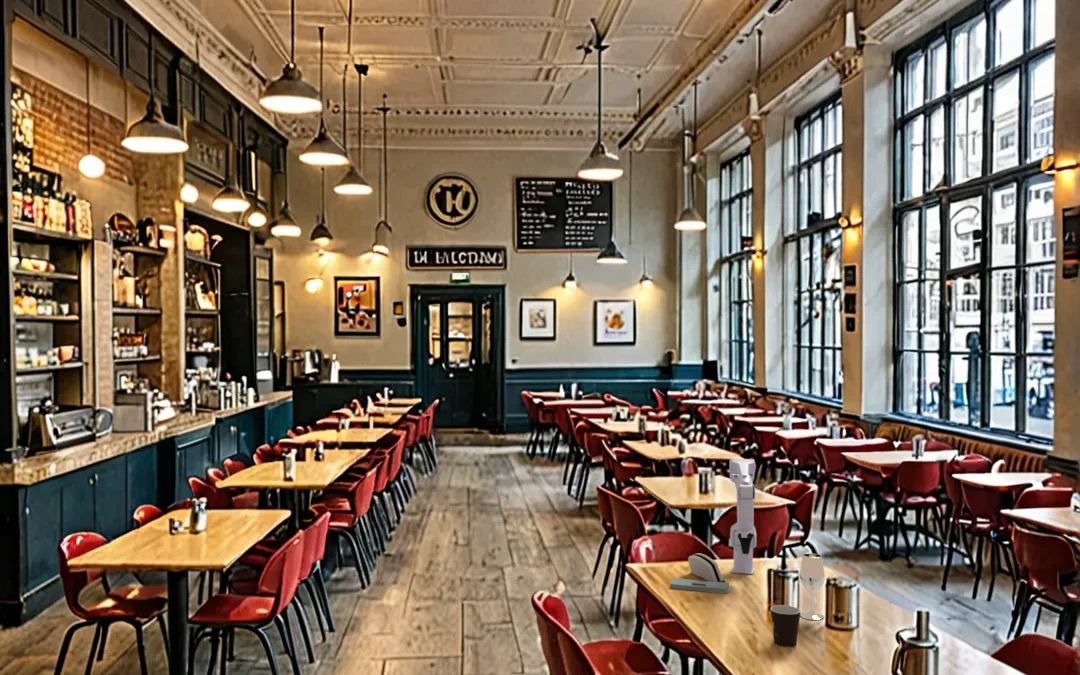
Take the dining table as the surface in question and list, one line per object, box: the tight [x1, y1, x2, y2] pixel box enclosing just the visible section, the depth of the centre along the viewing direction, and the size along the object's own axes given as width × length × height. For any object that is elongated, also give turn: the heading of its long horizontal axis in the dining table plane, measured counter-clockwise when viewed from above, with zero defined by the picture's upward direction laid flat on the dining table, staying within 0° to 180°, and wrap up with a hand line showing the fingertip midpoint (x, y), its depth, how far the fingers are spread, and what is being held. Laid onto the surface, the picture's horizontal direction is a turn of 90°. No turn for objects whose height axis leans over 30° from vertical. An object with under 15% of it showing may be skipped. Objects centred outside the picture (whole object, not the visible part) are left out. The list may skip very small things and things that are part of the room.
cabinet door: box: [670, 577, 730, 594], centre depth 315 cm, size 8×20×2 cm, turn 72°
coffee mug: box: [770, 604, 802, 648], centre depth 260 cm, size 12×9×10 cm
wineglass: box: [799, 552, 826, 621], centre depth 283 cm, size 8×8×20 cm
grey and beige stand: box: [687, 552, 727, 583], centre depth 328 cm, size 17×5×10 cm, turn 22°
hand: (745, 553), depth 323 cm, fingers closed
